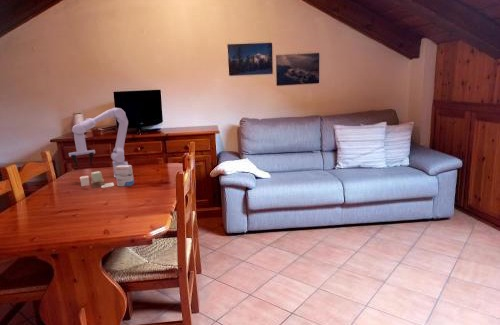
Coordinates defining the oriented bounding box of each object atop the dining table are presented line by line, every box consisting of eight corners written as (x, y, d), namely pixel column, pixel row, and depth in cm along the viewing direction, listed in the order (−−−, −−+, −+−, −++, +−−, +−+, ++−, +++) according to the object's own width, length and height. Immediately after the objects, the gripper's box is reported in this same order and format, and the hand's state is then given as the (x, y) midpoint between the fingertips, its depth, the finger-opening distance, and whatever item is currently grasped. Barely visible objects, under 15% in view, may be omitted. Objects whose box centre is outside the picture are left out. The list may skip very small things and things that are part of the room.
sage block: (99, 179, 208) (98, 171, 207) (102, 180, 205) (101, 172, 204) (92, 180, 205) (90, 172, 204) (94, 182, 202) (93, 174, 201)
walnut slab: (104, 183, 210) (103, 178, 209) (104, 185, 204) (104, 181, 203) (91, 185, 207) (91, 180, 207) (92, 188, 201) (91, 183, 200)
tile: (113, 183, 209) (113, 182, 208) (114, 186, 202) (114, 185, 202) (101, 185, 206) (100, 184, 206) (101, 188, 200) (101, 187, 199)
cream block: (89, 183, 211) (88, 175, 210) (89, 185, 207) (88, 177, 206) (81, 184, 210) (80, 176, 208) (81, 186, 206) (80, 178, 204)
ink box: (134, 183, 206) (132, 164, 203) (131, 186, 201) (128, 166, 198) (121, 183, 206) (118, 165, 204) (117, 186, 202) (114, 167, 199)
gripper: (93, 142, 214) (97, 163, 218) (67, 145, 209) (71, 166, 212) (93, 143, 208) (97, 165, 211) (67, 146, 202) (71, 168, 206)
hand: (84, 166), depth 211 cm, fingers open, 7 cm apart
